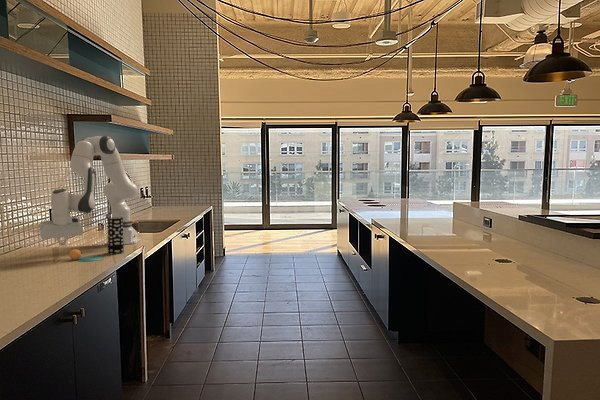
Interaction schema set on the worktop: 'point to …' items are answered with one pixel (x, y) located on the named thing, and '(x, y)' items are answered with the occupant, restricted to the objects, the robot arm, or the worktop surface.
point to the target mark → (89, 258)
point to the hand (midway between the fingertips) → (62, 245)
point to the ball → (75, 254)
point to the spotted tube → (115, 235)
